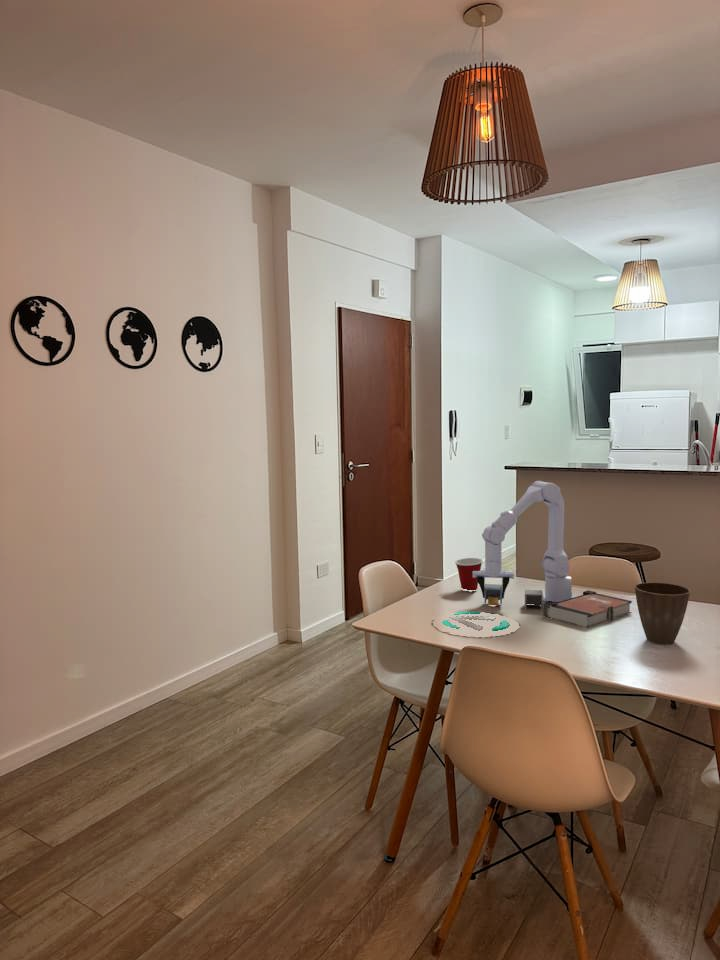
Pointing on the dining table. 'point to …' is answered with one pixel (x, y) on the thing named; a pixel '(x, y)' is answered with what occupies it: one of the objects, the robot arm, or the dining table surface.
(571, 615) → the book
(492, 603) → the cube
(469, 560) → the plastic cup
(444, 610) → the dining table surface
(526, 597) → the cover
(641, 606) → the plant pot
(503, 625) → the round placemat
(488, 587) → the cover
